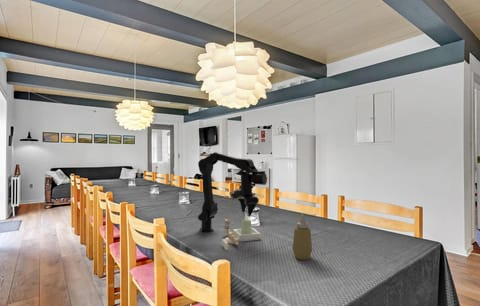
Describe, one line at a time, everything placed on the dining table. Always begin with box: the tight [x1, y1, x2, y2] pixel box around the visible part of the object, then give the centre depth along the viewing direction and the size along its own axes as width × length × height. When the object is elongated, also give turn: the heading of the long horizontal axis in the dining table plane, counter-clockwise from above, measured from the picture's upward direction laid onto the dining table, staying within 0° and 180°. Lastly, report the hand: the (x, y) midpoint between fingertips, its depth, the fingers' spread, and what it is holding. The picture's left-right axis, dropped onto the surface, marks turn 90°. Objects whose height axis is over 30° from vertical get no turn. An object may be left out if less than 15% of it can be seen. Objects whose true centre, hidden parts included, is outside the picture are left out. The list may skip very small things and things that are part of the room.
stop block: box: [240, 218, 252, 235], centre depth 140 cm, size 4×4×8 cm
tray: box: [232, 227, 262, 243], centre depth 140 cm, size 11×11×3 cm
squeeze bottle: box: [292, 213, 313, 261], centre depth 114 cm, size 8×8×18 cm
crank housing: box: [221, 236, 239, 251], centre depth 130 cm, size 14×10×3 cm
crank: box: [224, 218, 240, 246], centre depth 135 cm, size 22×3×6 cm, turn 17°
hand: (246, 214), depth 140 cm, fingers open, 9 cm apart
